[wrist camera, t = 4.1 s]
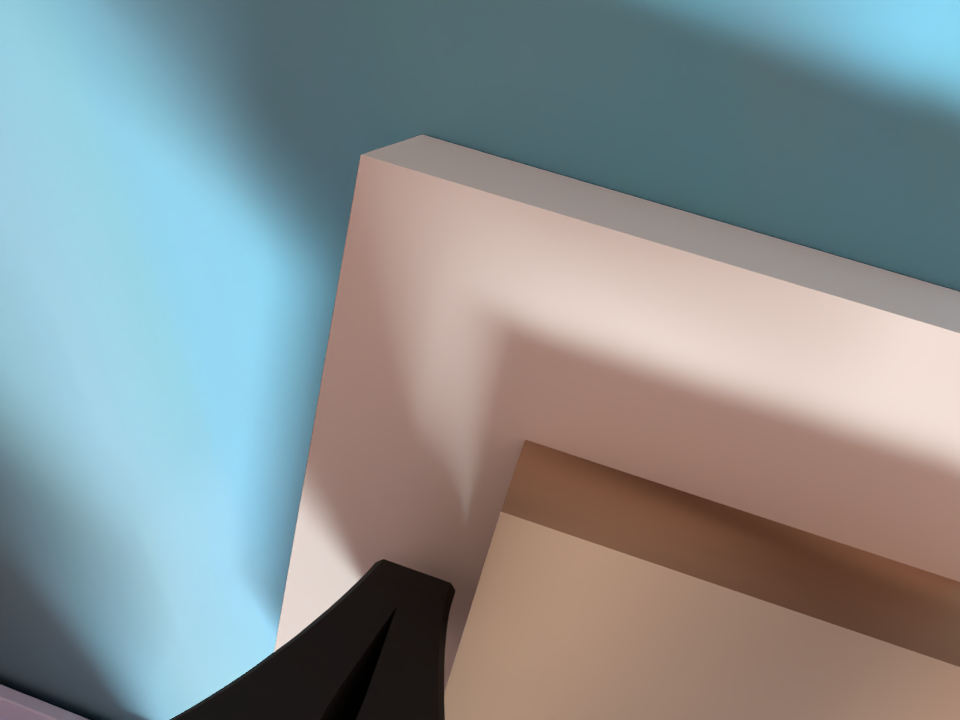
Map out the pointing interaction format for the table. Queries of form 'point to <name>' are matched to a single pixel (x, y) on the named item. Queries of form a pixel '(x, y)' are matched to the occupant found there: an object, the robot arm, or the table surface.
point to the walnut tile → (690, 612)
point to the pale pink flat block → (608, 374)
